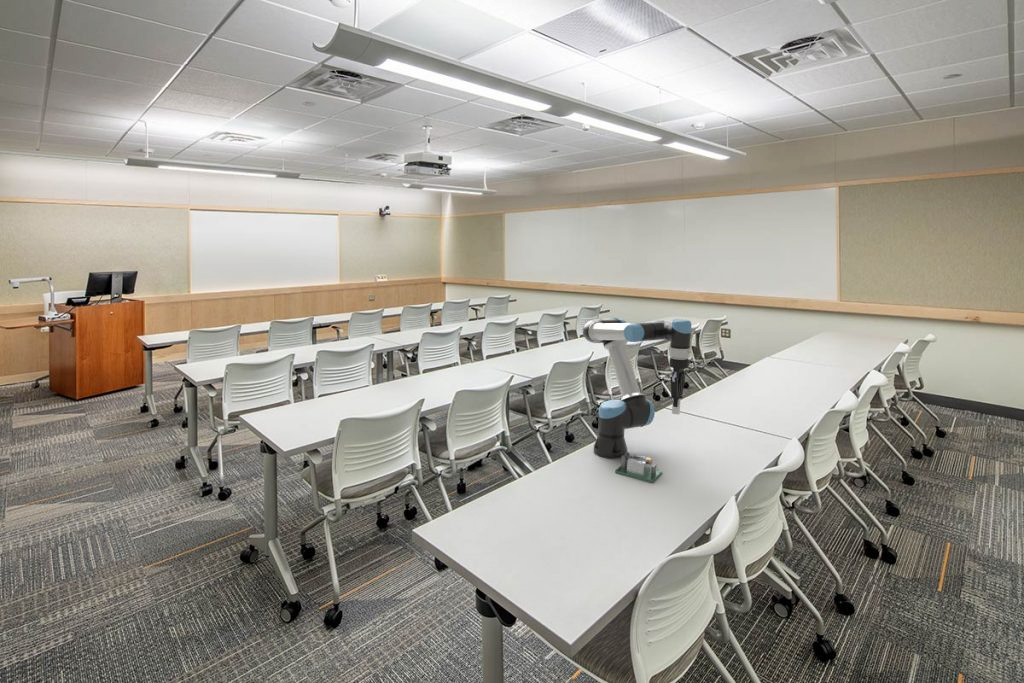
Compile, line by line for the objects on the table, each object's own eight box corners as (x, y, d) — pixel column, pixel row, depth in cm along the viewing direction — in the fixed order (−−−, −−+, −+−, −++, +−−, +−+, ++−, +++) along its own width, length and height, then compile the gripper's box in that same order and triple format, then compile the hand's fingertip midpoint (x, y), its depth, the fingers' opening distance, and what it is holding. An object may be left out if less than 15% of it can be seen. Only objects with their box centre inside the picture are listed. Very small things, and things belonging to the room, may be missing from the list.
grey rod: (623, 458, 217) (623, 454, 216) (625, 457, 218) (625, 452, 218) (650, 464, 210) (650, 460, 210) (651, 463, 212) (652, 458, 211)
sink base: (615, 472, 215) (615, 457, 214) (625, 463, 224) (626, 449, 222) (652, 482, 206) (653, 467, 204) (662, 473, 215) (663, 458, 213)
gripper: (683, 361, 203) (679, 419, 207) (693, 356, 213) (689, 411, 217) (664, 359, 207) (661, 416, 211) (675, 354, 217) (671, 408, 222)
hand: (675, 413), depth 214 cm, fingers closed
